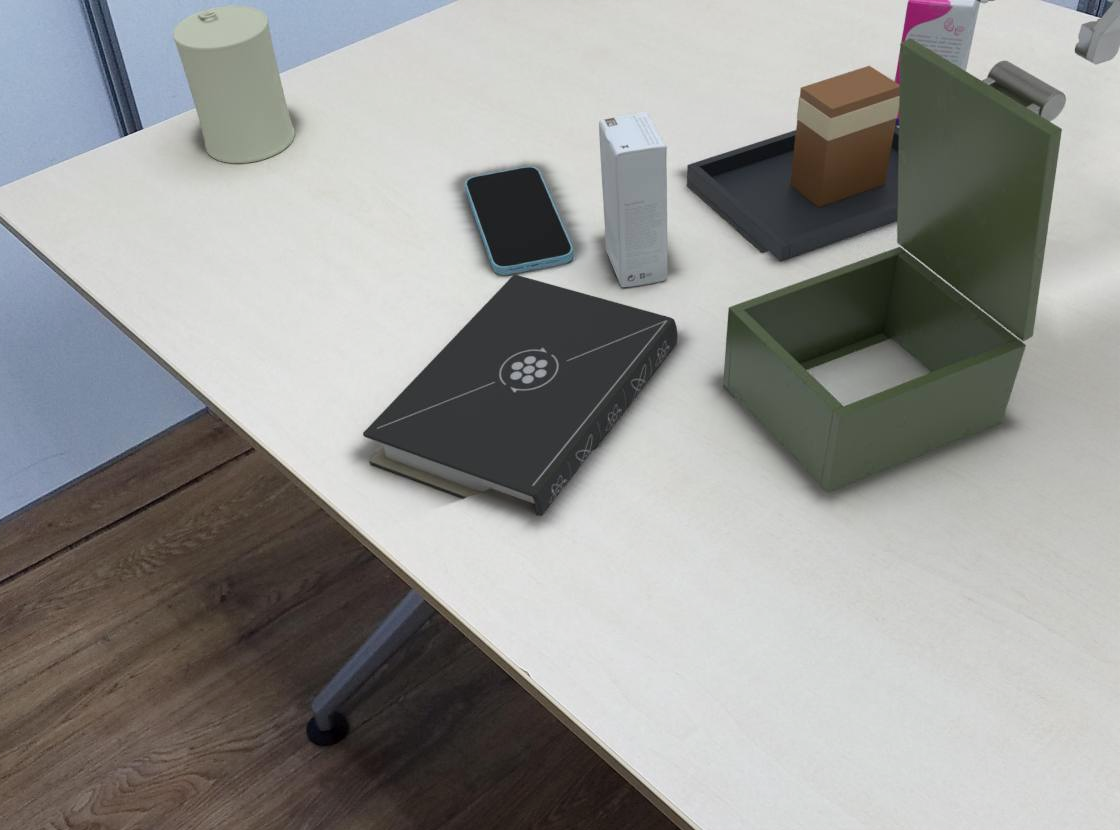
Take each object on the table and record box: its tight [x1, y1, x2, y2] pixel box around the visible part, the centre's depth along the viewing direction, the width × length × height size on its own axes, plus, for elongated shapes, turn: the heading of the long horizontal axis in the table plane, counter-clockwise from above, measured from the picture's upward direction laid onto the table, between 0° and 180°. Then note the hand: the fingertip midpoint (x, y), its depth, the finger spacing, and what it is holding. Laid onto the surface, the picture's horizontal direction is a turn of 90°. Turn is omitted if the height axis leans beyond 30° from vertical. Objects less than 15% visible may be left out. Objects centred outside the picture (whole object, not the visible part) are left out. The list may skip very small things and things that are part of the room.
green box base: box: [722, 246, 1027, 493], centre depth 83 cm, size 15×14×8 cm
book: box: [362, 274, 678, 516], centre depth 88 cm, size 22×15×3 cm
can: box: [172, 5, 296, 164], centre depth 115 cm, size 9×9×12 cm
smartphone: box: [464, 166, 574, 276], centre depth 105 cm, size 7×1×15 cm
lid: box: [896, 38, 1067, 342], centre depth 75 cm, size 16×14×5 cm
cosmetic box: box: [598, 111, 669, 288], centre depth 95 cm, size 6×4×12 cm
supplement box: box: [894, 0, 981, 126], centre depth 108 cm, size 6×6×12 cm
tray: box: [686, 125, 899, 262], centre depth 104 cm, size 20×16×2 cm
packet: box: [790, 65, 900, 207], centre depth 101 cm, size 7×5×9 cm, turn 115°
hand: (1035, 26), depth 68 cm, fingers open, 8 cm apart
